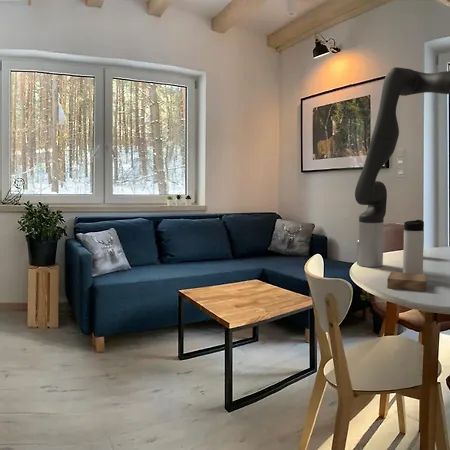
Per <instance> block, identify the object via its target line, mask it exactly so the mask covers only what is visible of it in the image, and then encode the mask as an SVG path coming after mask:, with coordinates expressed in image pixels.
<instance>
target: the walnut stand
mask: <svg viewBox="0 0 450 450" xmlns="http://www.w3.org/2000/svg"><path fill="white" fill-rule="evenodd" d="M427 279H428V274H427V273H425V274H424V273H423V274H413V273H403V272H397V271H396V272H395V271H394V272H393V271H391V272H390V273H389V276H388V277H387V281H386V282H387V285H386V286H387V287H386V288H387V289H395V290H406V291H407V290H409V291H421V292H426V290H427Z"/></svg>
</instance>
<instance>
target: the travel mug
mask: <svg viewBox="0 0 450 450" xmlns="http://www.w3.org/2000/svg"><path fill="white" fill-rule="evenodd" d="M403 228H404V229H403V255H402V258H403V260H402V273H413V274H424V245H425V244H424V241H425V240H424V239H425V238H424V237H425V235H424V234H425V230H424V229H425V222H424V221H423V219H415V220H407V221H405V222H404V223H403Z"/></svg>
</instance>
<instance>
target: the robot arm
mask: <svg viewBox="0 0 450 450" xmlns="http://www.w3.org/2000/svg"><path fill="white" fill-rule="evenodd" d="M423 93H426V94H427V93H434V94H441V95H442V94H443V95H450V70H447V71H440V72H434V73H433V72H432V73H431V72H430V73H427V72H422V71H419V70H418V71H417V70H414V69H412V68H406V67H405V68H404V67H398V66H397V67H395V66H394V67H393V68H390V69H389V71H387V73H386V74H385V77H384V80H383V84H382V91H381V95H380V100H379V101H380V102H379V108H378V110H377V111H378V113H377V116H376V121H375V124H374V128H373V130H372V135H371V138H370V142H369V145H368V151H367V154H366V157H365V159H364V160H365V161H364V164H363V167H362V170H361V173H360V176H359V178H358V180H357V183H356V187H355V190H354V198H355V202H356V203H358V204H359V205H361V206H367V208H366V209H365V211H364V212H362V213H360V214H359V216H358V240H357V241H356V264H357V265H358V266H361V267H366V268H379V267H382V266H383V265H384V263H383V262H384V219H385V216H386V213H387V201H388V200H387V199H388V191H387V187H386V185H385V183H384V182H383V181H379V180H377V177H378V174H379V172H380V171H381V169H382V168H383V167H384V165H385V164H386V163H387V162H388V160H389V159H390V158H391V157H392V156H393V153H394V152H395V149H396V147H397V143H398V139H399V136H400V127H399V122H398V117H397V106H398V101H399V98H400V96H404V97H405V96H406V97H407V96H411V95H416V94H423Z"/></svg>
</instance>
